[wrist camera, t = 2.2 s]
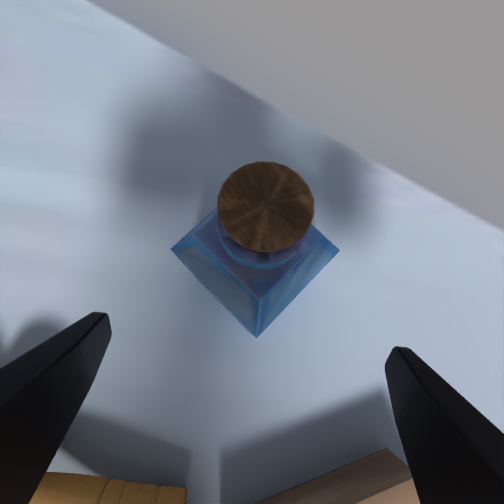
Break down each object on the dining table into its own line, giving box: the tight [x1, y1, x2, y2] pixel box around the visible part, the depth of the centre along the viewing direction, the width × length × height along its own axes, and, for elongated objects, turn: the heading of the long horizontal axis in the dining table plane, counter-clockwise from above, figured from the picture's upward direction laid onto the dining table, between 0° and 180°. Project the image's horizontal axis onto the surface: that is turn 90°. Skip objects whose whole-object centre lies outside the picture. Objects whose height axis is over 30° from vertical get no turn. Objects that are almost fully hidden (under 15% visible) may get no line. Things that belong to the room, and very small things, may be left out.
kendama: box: [29, 472, 187, 504], centre depth 16 cm, size 8×6×18 cm
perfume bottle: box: [171, 162, 340, 338], centre depth 15 cm, size 6×6×12 cm
